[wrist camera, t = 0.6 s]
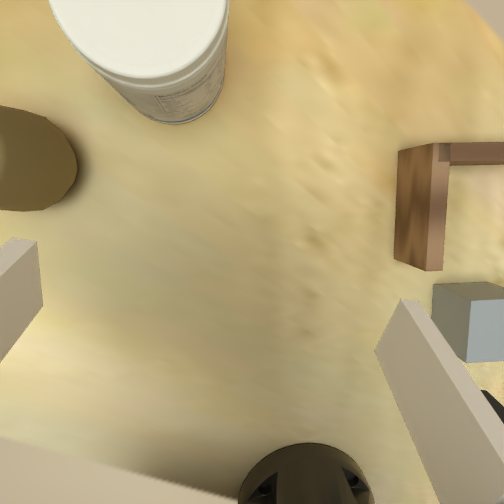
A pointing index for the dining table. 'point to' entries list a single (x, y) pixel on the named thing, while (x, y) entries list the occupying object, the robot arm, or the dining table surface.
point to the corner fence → (431, 197)
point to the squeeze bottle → (33, 161)
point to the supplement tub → (152, 50)
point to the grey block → (471, 319)
